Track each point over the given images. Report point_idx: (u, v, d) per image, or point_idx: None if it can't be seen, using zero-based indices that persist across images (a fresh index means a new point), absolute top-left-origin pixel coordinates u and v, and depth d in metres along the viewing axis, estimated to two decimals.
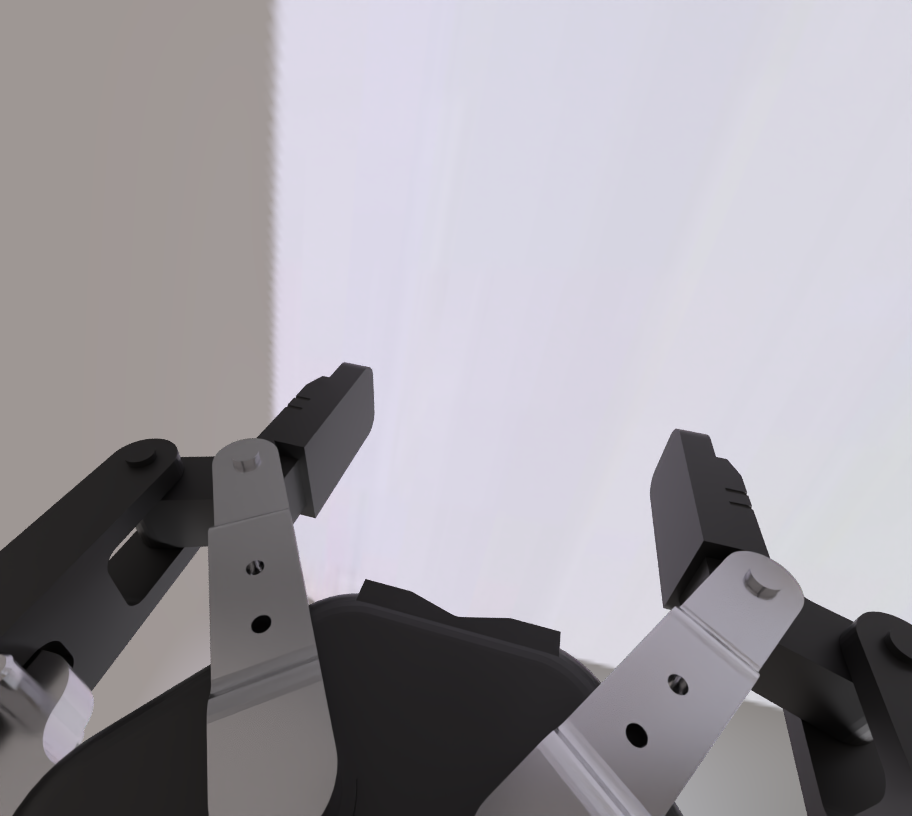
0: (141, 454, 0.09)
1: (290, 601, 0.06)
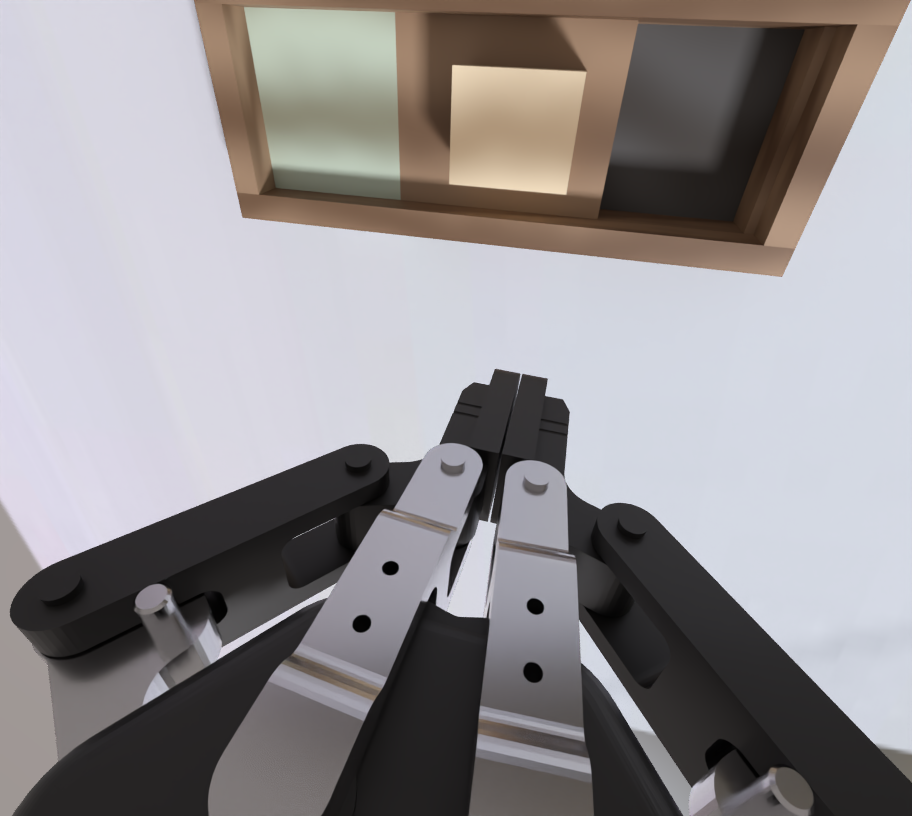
0: (358, 460, 0.09)
1: (395, 620, 0.06)
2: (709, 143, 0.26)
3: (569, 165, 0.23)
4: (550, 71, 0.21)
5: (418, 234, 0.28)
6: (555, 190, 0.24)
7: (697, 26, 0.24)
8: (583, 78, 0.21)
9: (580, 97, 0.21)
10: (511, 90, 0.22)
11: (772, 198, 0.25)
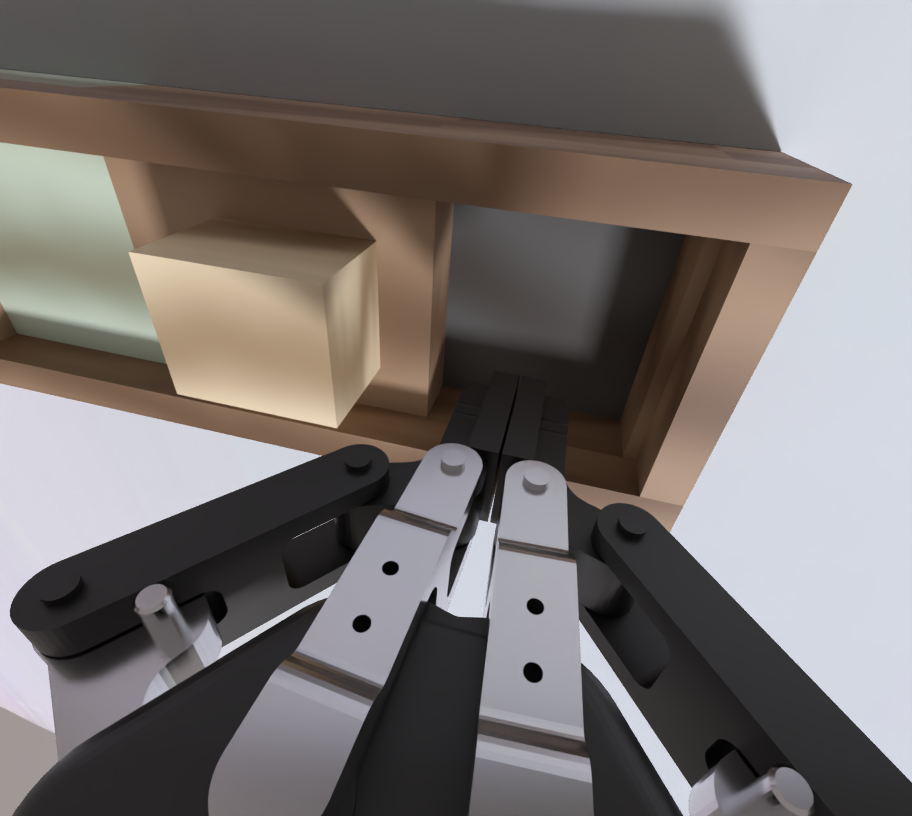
0: (358, 461, 0.09)
1: (395, 620, 0.06)
2: (579, 328, 0.19)
3: (331, 395, 0.15)
4: (270, 277, 0.13)
5: (184, 422, 0.20)
6: (321, 421, 0.16)
7: None
8: (320, 292, 0.13)
9: (323, 315, 0.13)
10: (222, 294, 0.14)
11: (653, 429, 0.17)
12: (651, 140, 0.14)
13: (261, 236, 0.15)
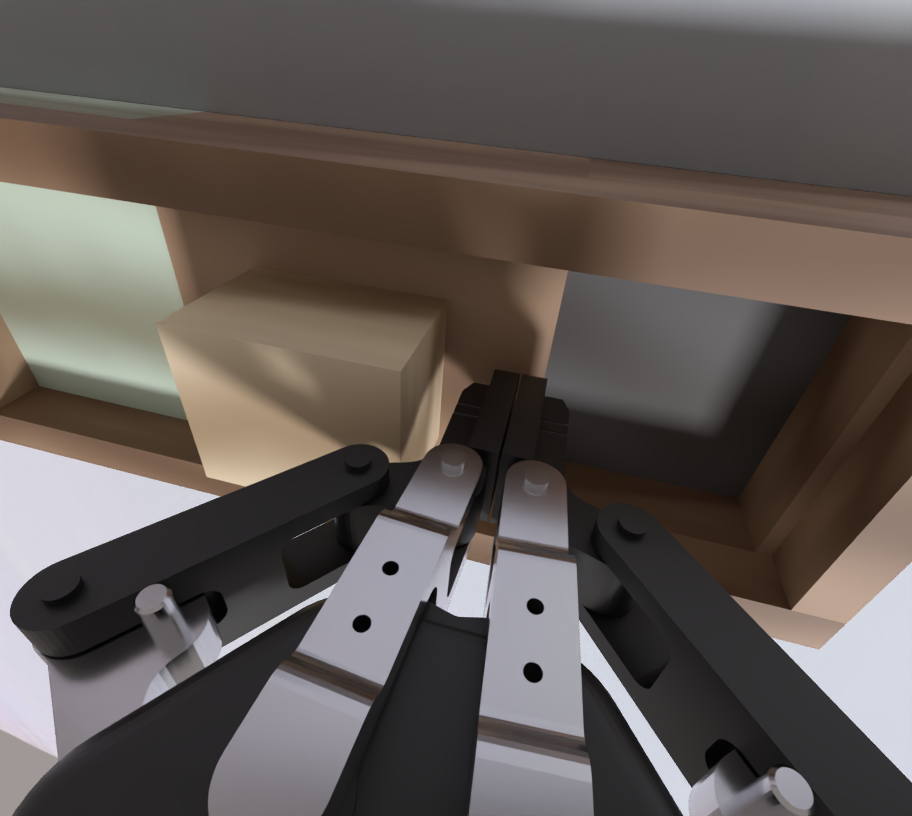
0: (358, 461, 0.09)
1: (395, 620, 0.06)
2: (704, 399, 0.16)
3: None
4: (333, 359, 0.10)
5: None
6: None
7: None
8: (397, 379, 0.10)
9: (397, 405, 0.11)
10: (270, 376, 0.11)
11: (809, 529, 0.14)
12: (839, 191, 0.12)
13: (311, 295, 0.13)
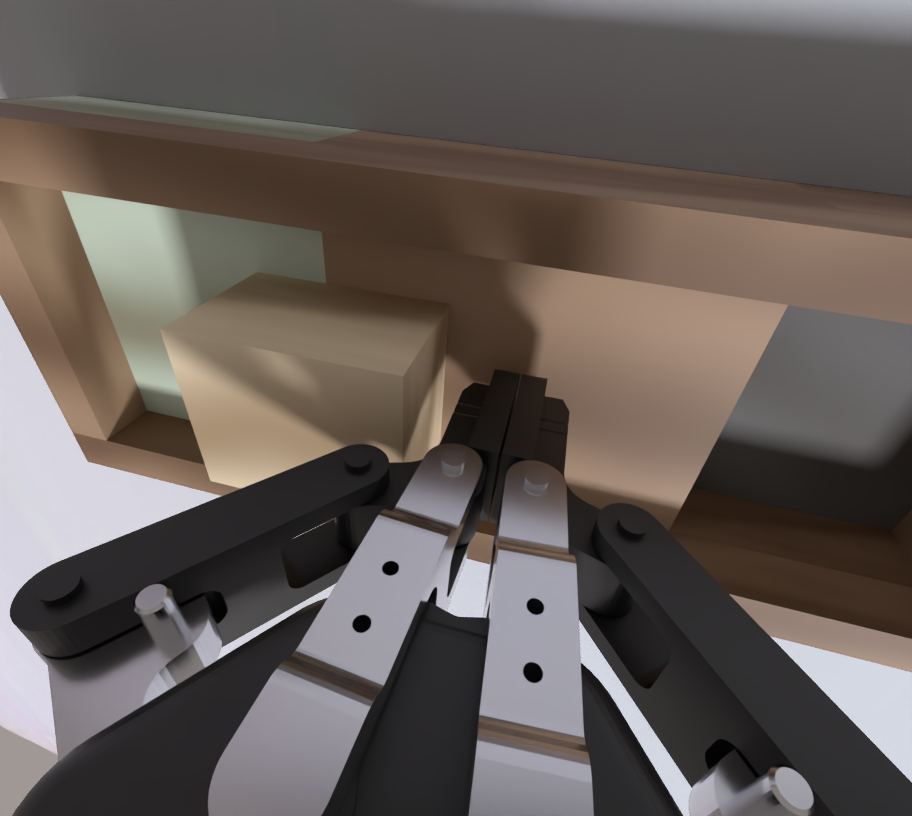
0: (358, 460, 0.09)
1: (395, 620, 0.06)
2: (876, 431, 0.15)
3: None
4: (336, 365, 0.10)
5: None
6: None
7: None
8: (399, 384, 0.10)
9: (400, 410, 0.11)
10: (274, 381, 0.11)
11: None
12: None
13: (314, 300, 0.13)
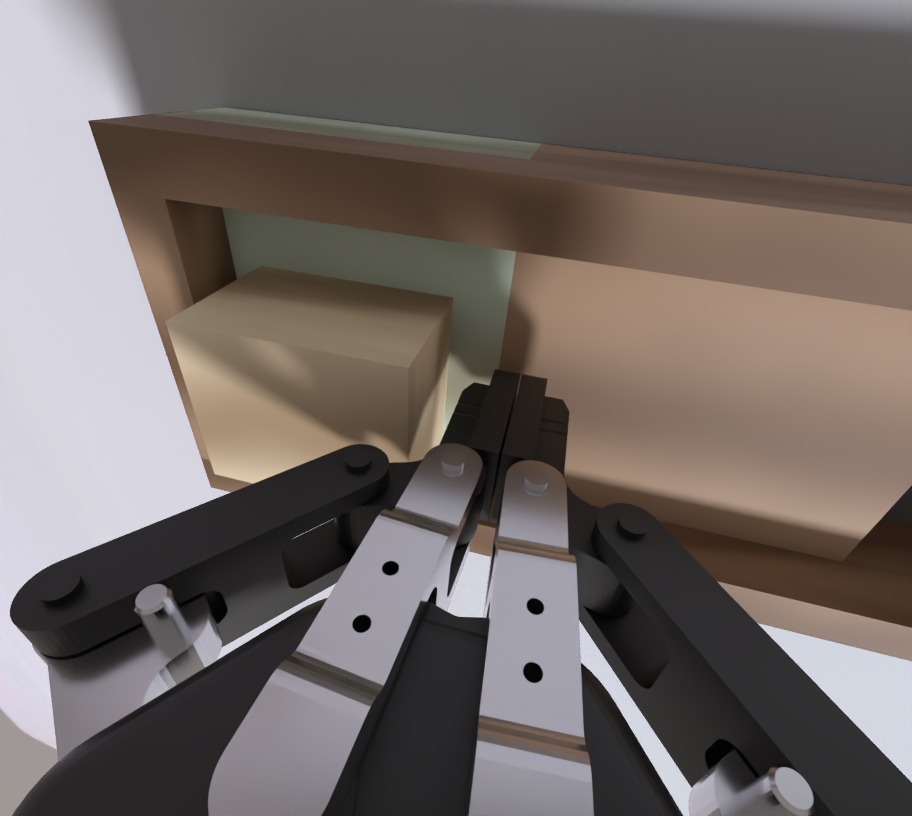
0: (358, 460, 0.09)
1: (394, 620, 0.06)
2: None
3: None
4: (342, 356, 0.11)
5: None
6: None
7: None
8: (405, 376, 0.10)
9: (405, 402, 0.11)
10: (279, 373, 0.11)
11: None
12: None
13: (318, 293, 0.13)
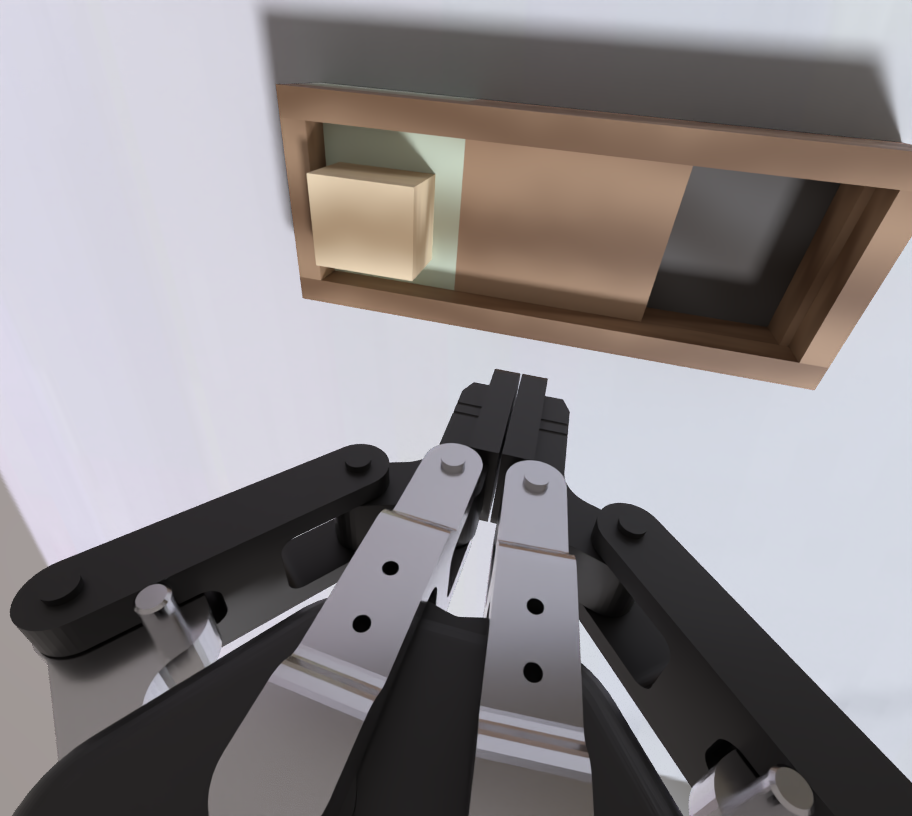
0: (358, 461, 0.09)
1: (394, 620, 0.06)
2: (750, 259, 0.28)
3: (411, 258, 0.26)
4: (385, 184, 0.25)
5: (471, 326, 0.30)
6: (403, 277, 0.27)
7: None
8: (412, 192, 0.24)
9: (412, 206, 0.25)
10: (356, 196, 0.25)
11: (809, 319, 0.26)
12: (823, 135, 0.24)
13: (370, 170, 0.27)
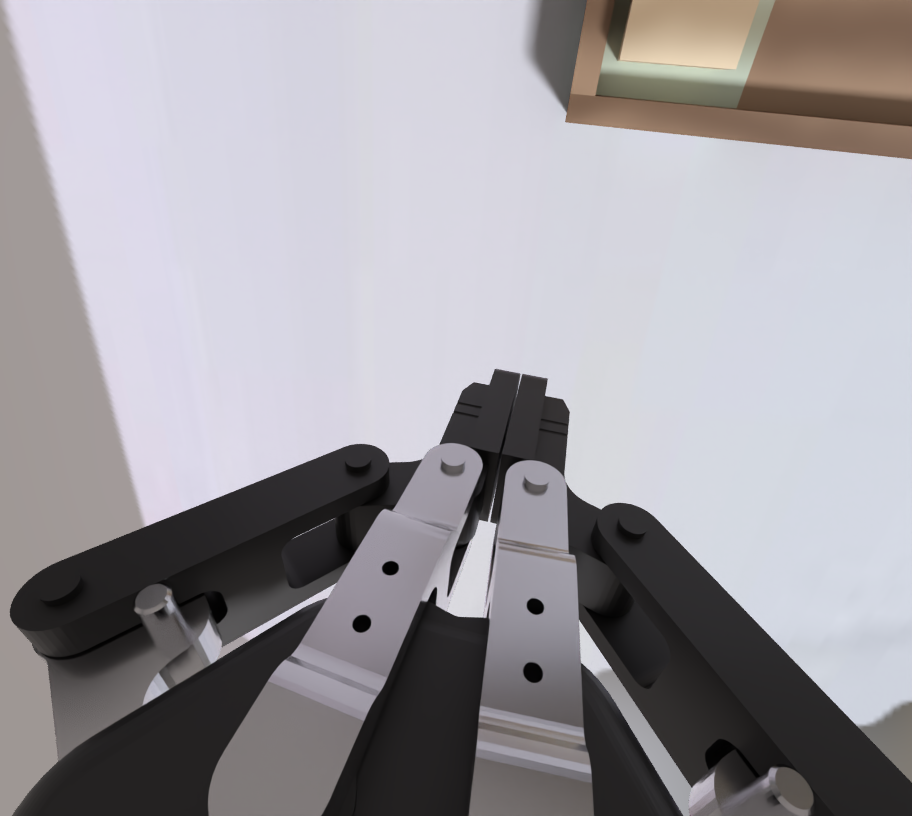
0: (358, 460, 0.09)
1: (394, 620, 0.06)
2: None
3: (745, 37, 0.24)
4: None
5: (765, 140, 0.28)
6: (726, 64, 0.25)
7: None
8: None
9: None
10: None
11: None
12: None
13: None
